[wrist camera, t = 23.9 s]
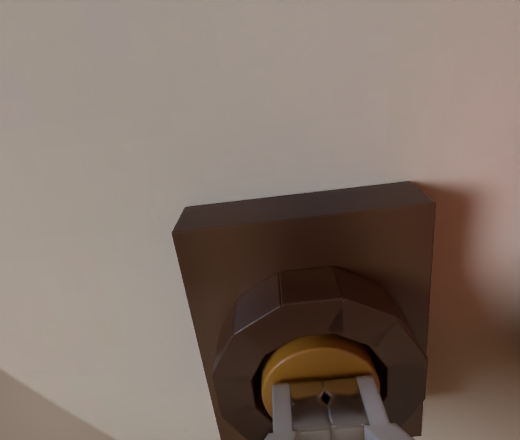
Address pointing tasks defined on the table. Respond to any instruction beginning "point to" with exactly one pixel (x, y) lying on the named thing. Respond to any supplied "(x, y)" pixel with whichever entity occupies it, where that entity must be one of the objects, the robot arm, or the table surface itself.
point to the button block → (309, 290)
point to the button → (314, 362)
